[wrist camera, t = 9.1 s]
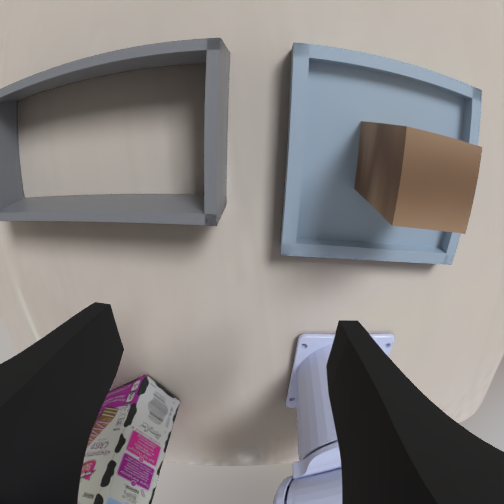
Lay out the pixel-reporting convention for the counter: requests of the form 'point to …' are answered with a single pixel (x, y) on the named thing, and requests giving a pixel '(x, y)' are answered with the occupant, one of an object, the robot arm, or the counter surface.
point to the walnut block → (417, 176)
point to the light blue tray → (347, 146)
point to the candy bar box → (128, 444)
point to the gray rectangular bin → (124, 205)
